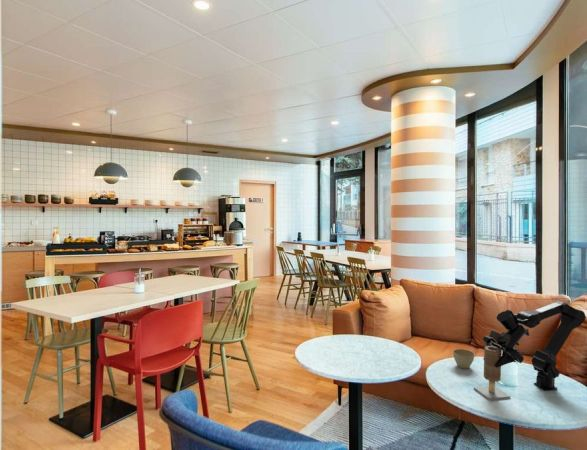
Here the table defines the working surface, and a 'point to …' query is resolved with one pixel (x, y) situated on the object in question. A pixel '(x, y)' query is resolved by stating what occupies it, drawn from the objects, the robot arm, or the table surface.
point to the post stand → (491, 392)
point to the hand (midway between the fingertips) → (489, 363)
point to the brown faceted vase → (492, 363)
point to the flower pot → (463, 357)
